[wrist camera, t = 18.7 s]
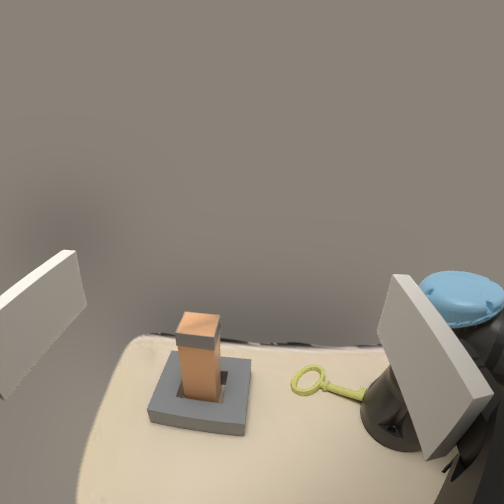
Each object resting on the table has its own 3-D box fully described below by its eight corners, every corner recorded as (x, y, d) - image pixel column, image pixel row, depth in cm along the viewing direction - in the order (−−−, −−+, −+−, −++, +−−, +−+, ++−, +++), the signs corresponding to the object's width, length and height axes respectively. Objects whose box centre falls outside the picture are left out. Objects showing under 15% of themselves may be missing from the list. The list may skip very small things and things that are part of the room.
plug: (221, 388, 43) (220, 315, 38) (217, 410, 39) (214, 337, 34) (192, 384, 44) (184, 311, 38) (185, 406, 39) (175, 332, 34)
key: (363, 407, 40) (367, 398, 39) (287, 395, 43) (288, 386, 42) (364, 377, 46) (367, 368, 46) (295, 366, 50) (297, 357, 49)
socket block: (250, 372, 47) (251, 359, 46) (243, 436, 35) (244, 424, 34) (173, 363, 48) (171, 350, 47) (150, 421, 36) (146, 409, 34)
